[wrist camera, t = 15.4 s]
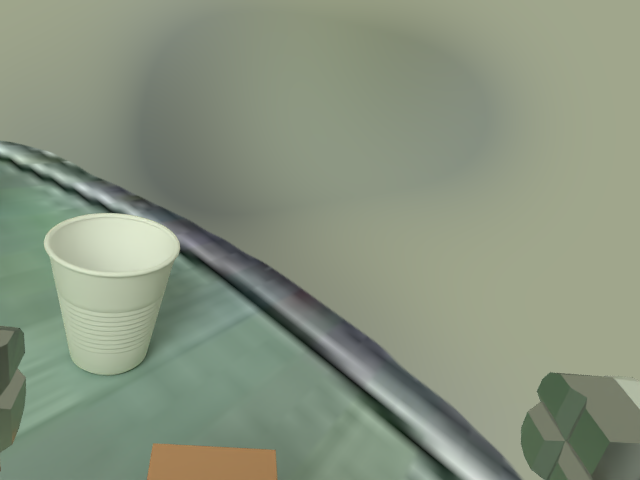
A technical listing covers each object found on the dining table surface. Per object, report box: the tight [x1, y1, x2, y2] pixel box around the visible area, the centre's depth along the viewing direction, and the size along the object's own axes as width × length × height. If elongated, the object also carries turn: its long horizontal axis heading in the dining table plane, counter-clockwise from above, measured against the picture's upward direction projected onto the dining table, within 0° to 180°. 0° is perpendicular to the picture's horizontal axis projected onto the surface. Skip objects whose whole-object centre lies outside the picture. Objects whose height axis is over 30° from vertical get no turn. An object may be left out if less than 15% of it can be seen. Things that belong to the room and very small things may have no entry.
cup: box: [44, 213, 180, 375], centre depth 48 cm, size 10×10×11 cm
